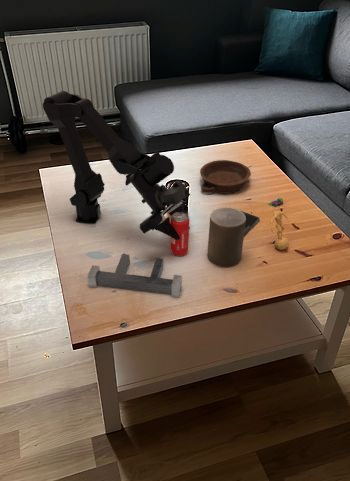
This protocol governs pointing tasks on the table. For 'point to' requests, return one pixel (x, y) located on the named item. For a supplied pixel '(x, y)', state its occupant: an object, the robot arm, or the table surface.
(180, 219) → the beverage can
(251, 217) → the phone
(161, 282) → the rail dock
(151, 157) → the robot arm
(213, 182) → the dish
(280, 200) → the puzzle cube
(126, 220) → the table surface
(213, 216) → the pillar candle
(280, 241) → the figurine
